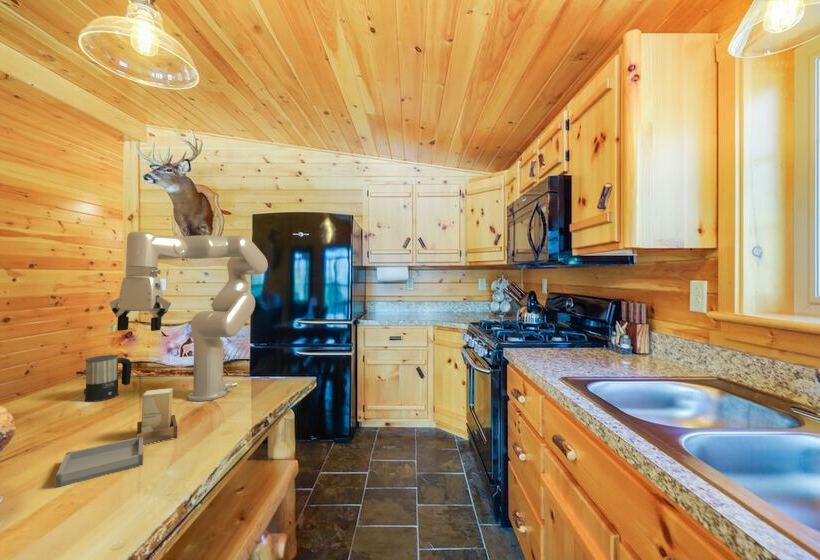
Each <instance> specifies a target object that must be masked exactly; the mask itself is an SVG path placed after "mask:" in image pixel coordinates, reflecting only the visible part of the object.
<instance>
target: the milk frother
mask: <svg viewBox="0 0 820 560" xmlns="http://www.w3.org/2000/svg"><path fill="white" fill-rule="evenodd" d="M84 361H85V388H84V389H83V391H82V392H83V394H84V395H85V398H84V402H87V401H88V402H89V403H90V402H91V403H92V402H93V403H95V402H101V401H106V400H111V399H114V398H116V397H118V396H119V390H118V389H119V364H121V367H122V370H121V384H122V385H123V386H128V385H130V384H131V379H132V378H131V376H132V361H131V360H130V359H128V358H127V357H119V355H117V354H106V355H105V354H104V355H99V356H98V355H97V356H92V357H88V358H85V359H84Z"/></svg>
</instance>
